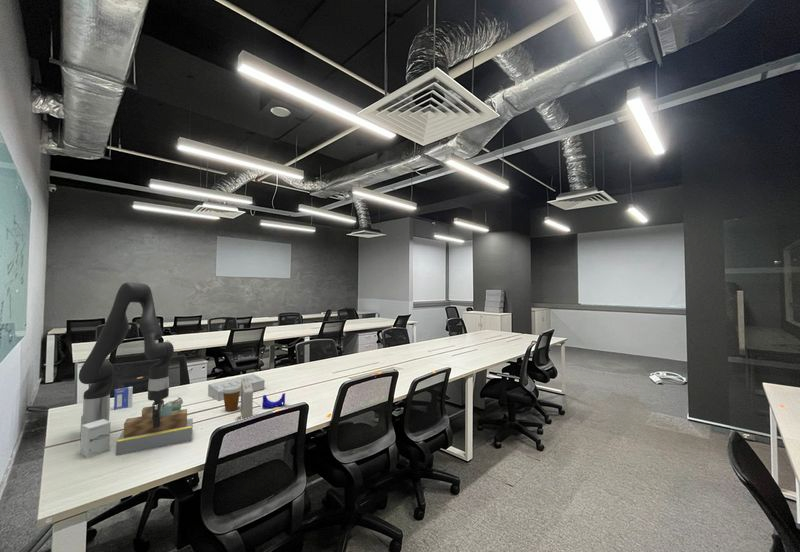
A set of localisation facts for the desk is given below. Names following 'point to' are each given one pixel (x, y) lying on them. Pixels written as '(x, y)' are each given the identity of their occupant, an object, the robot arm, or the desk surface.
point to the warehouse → (217, 388)
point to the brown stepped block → (146, 426)
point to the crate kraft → (147, 412)
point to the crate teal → (166, 410)
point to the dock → (154, 439)
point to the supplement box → (95, 438)
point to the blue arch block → (268, 403)
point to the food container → (176, 404)
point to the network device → (246, 399)
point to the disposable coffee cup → (231, 397)
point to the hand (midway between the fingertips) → (157, 423)
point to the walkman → (123, 398)
